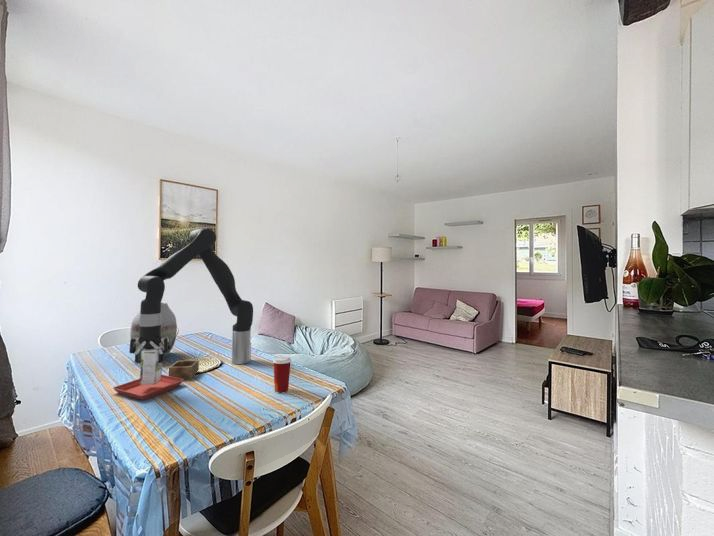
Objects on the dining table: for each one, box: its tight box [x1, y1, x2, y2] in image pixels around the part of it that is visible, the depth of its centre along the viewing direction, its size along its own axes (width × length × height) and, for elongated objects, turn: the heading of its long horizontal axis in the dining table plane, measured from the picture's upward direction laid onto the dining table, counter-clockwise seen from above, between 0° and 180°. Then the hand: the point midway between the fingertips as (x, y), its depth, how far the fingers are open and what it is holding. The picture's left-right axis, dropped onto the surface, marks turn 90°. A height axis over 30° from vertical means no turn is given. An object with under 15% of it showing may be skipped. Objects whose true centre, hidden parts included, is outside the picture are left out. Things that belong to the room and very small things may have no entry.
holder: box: [168, 359, 200, 380], centre depth 143 cm, size 10×10×6 cm
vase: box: [129, 301, 178, 358], centre depth 168 cm, size 21×21×30 cm
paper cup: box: [272, 354, 292, 394], centre depth 130 cm, size 8×8×14 cm
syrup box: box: [139, 348, 163, 385], centre depth 127 cm, size 6×6×14 cm
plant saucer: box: [112, 373, 184, 401], centre depth 127 cm, size 18×18×3 cm
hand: (149, 362), depth 127 cm, fingers open, 8 cm apart
